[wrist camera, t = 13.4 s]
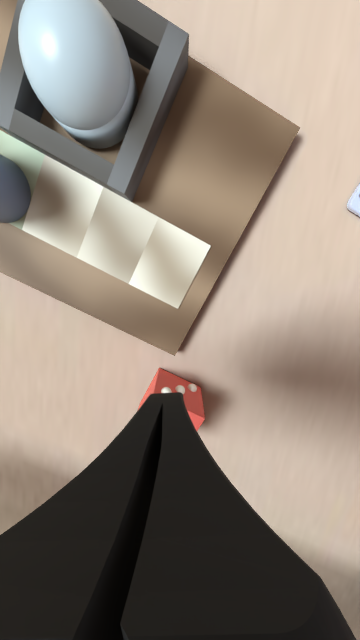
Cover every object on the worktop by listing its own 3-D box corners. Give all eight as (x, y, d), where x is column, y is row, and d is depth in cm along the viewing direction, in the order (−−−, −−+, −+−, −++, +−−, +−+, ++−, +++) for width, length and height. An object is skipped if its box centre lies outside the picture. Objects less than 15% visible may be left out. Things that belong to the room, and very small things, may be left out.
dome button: (74, 32, 13) (7, -108, 8) (153, 81, 13) (136, -22, 8) (46, 126, 14) (-28, 54, 9) (120, 167, 14) (88, 120, 10)
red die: (161, 363, 19) (155, 393, 15) (202, 383, 19) (208, 418, 15) (139, 404, 20) (128, 442, 16) (179, 421, 20) (178, 464, 16)
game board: (-60, -88, 12) (-135, -196, 9) (292, 136, 15) (319, 105, 12) (-109, 214, 16) (-172, 203, 13) (175, 350, 19) (173, 367, 16)
